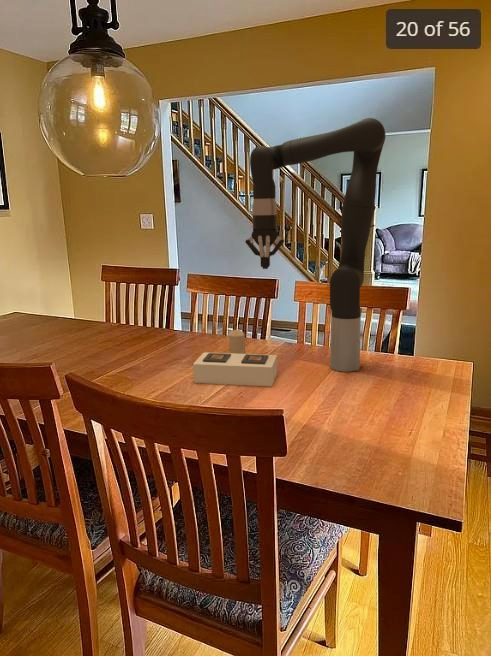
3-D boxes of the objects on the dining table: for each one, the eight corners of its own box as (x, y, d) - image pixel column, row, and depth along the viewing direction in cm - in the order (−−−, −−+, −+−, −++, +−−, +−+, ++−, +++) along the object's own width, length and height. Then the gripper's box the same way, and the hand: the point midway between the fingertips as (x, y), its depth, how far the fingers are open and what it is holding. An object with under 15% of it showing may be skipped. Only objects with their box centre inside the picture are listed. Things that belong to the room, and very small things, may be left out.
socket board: (277, 372, 157) (277, 353, 155) (271, 386, 146) (271, 365, 144) (204, 369, 162) (203, 350, 160) (193, 382, 150) (192, 362, 149)
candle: (243, 360, 170) (242, 332, 168) (227, 359, 171) (227, 332, 169) (246, 355, 175) (245, 328, 173) (231, 355, 177) (230, 328, 174)
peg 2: (262, 376, 154) (262, 356, 152) (260, 381, 150) (260, 360, 149) (250, 376, 155) (249, 356, 153) (247, 380, 151) (247, 359, 149)
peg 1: (225, 375, 156) (224, 355, 155) (222, 379, 153) (221, 358, 151) (213, 374, 157) (212, 354, 155) (210, 378, 153) (209, 358, 152)
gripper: (286, 213, 157) (287, 267, 162) (246, 213, 160) (247, 267, 164) (284, 213, 150) (284, 270, 155) (241, 214, 153) (243, 270, 157)
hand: (265, 268), depth 160 cm, fingers closed
